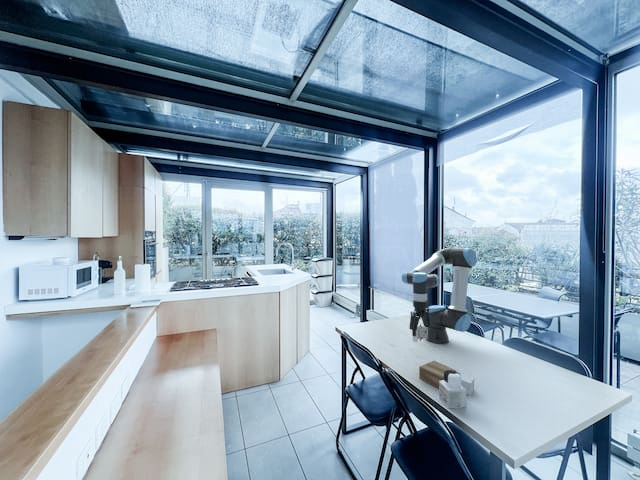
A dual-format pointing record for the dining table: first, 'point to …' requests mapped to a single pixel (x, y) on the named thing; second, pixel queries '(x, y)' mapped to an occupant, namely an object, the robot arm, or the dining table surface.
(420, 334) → the grey spiky ball
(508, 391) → the dining table surface
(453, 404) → the container
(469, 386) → the grey block
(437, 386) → the base block
